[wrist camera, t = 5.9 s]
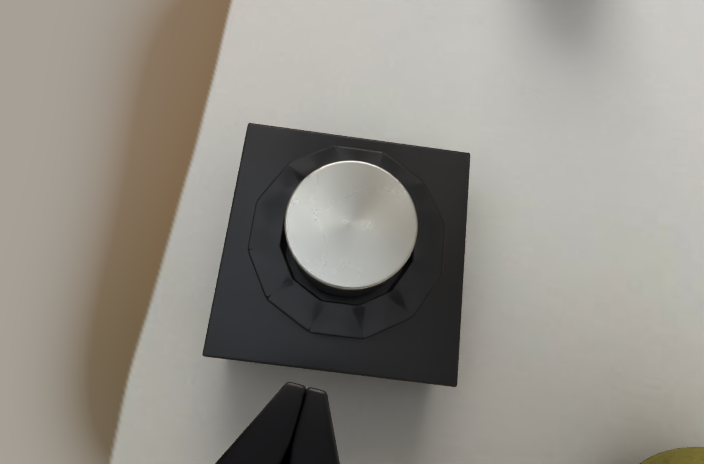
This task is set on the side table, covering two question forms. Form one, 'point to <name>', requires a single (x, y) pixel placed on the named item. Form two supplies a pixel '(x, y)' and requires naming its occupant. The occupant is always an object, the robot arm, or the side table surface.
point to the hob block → (331, 310)
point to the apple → (678, 456)
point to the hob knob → (350, 227)
